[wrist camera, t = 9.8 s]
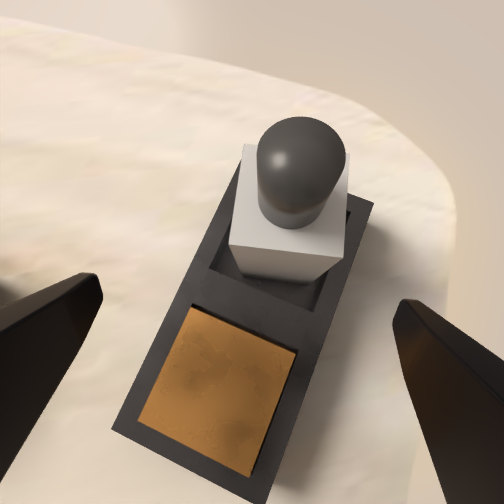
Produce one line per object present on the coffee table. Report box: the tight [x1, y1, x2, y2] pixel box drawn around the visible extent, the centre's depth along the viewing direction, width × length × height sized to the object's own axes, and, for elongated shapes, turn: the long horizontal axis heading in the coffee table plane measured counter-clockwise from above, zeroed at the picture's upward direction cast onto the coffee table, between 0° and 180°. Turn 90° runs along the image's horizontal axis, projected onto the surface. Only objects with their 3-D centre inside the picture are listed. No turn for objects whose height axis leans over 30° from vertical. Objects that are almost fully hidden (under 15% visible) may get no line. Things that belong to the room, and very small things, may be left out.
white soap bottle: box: [229, 117, 350, 285], centre depth 16 cm, size 5×5×13 cm
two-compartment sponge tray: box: [111, 161, 374, 504], centre depth 20 cm, size 10×20×4 cm, turn 157°
